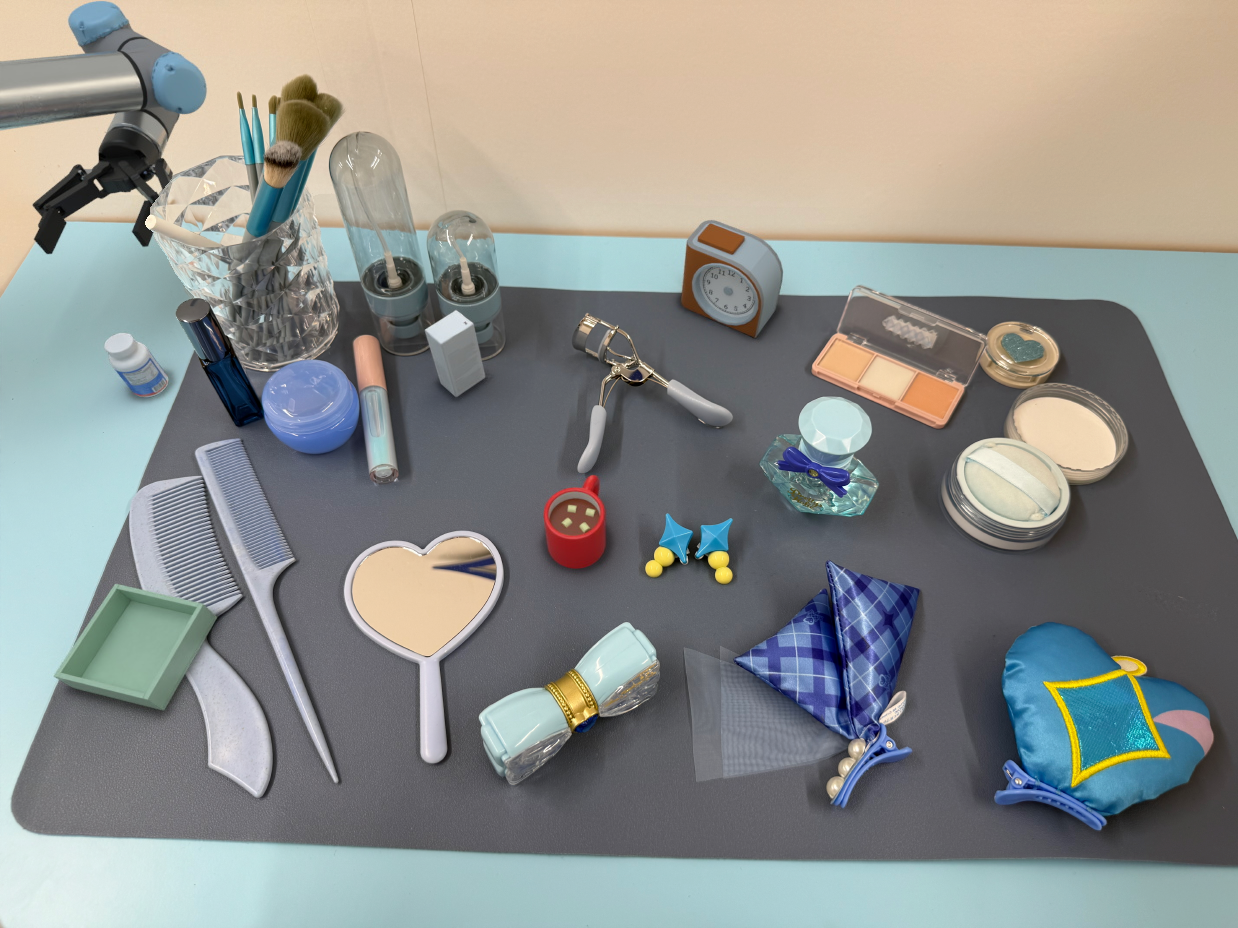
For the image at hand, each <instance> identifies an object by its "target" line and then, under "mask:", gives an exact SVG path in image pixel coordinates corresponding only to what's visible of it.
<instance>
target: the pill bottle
mask: <svg viewBox="0 0 1238 928" xmlns="http://www.w3.org/2000/svg"><path fill="white" fill-rule="evenodd" d="M103 349H104V350H105V351H106V353H107V354H108V361H109V364H110V366H111V367H112V368H113V369H114V371H115V372H116V373H117V374H118V376H119V377H120V378H121V379H122V381H123V382H124V383H125V384H126V386H127V387H128V388H129V390H130V391H131V392H132V393H133V394H134V395H135V396H137V397H140V398H151V397H155V396H157V395H159V394H161V393H163V391H164V390H165V389H166V388H167V387H168V384H169V377H168V374H167V373H166V372H165V370H164V369H163V368H162V366H161V365H160V364H159V362H158V361H157V359H156V358H155V357H154V355H153V353H152V352H151V351H150V349H149V348H148V347H147V346H146V345H145V344H144V343H142V342H139V341H136V339H135V338H134V337H133V336H132V334H130V333H128V332H119V333H115V334H113V335H111V336H109V337H108V338H107V339H106V340H105V342H104V344H103Z"/></svg>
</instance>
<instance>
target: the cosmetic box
mask: <svg viewBox="0 0 1238 928" xmlns="http://www.w3.org/2000/svg"><path fill="white" fill-rule="evenodd" d="M475 328H476V327H475V324H474V322H472V321H471V320H470V319H468V318H467V317H466V316H465V315H463V314H462V313H461V312H459V311H458V310H457V309H455V310H453V311H452V312H450V313H449V314H448V315H446V316H444V317H443V318H441V319H440V320H438V321H436V322H435V323H433V324H432V325H430V326H428V327H427V328H426V329H424V332H425V333H424V334H425V337H426V340H427V342H428V347H429V350H430V351H431V356H432V359H433V363H434V366H435V369H436V372H437V373H436V374H437V376H438V379H439V382H440V385H442V386H443V387H444V388H445V389H446V390H447V391H448V392H449V393H451V395H453V396H454V397H455V398H458V397H459V396H461V395H462V394H463V393H465V392H467V391H468V390H469V389H471V388H472V387H474V386H475V385H477V384H478V383H480V382H481V381H483V380H484V379H485V378H486V373H485V368H484V364H483V359H482V355H481V350H480V346H479V343H478V338H477V333H476V329H475Z"/></svg>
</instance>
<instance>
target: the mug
mask: <svg viewBox="0 0 1238 928" xmlns="http://www.w3.org/2000/svg"><path fill="white" fill-rule="evenodd" d="M599 494H600V479H599V477H598V475H595V474H591V475H589V476H588V477H586V479H585V481H584V483H583V485H582V487H567V488H564V489H561V490H559V491H557V492H555V493H554V494H553V495H551V496H550V497H549V499H548V500H547V501H546V503H545V505H544V509H543V522H544V529H545V535H546V543H547V549H548V553H549V555H550V556H551V558H552V559H553V560H554V561H555V562H556V563H557V564H558V565H560V566H562V567H564V568H566V569H567V568H569V569H577V570H578V569H583V568H587V567H589V566H592V565H593V564H595V563H596V562H597V561H598V560H599V559H600V558H601V557H602V555H603V554H604V552H605V549H606V509H605V504H604V503H603V501H602V500H601V498H600V497H599Z"/></svg>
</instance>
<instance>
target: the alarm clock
mask: <svg viewBox="0 0 1238 928" xmlns="http://www.w3.org/2000/svg"><path fill="white" fill-rule="evenodd" d="M684 255H685V257H684V267H683V275H682V277H683V278H682V287H681V299H680V303H681V306H682V307H683V308H685V309H686V310H688V311H691V312H693V313H696V314H697V315H700V316H703V317H705V318H708V319H710V320H712V321H715V322H717V323H719V324H722V325H724V326H727V327H729V328H732V329H734V330H736V331H737V332H741V333H742V334H745V335H747V336H750V337H752V338H754V339H755V338H757V336H758V335H759V334H760V332H761V331H762V330H763V328H764V327H765V325H766V324H767V322H768V321H769V320H770V318H771V317H772V316H773V314H774V313H775V311H776V310H777V306H778V301H779V298H780V297H779V296H780V293H781V289H782V285H783V277H784V269H783V265H782V262H781V260H780V257H779V255H778V253H777V252H776V251H775V249H774V248H773V247H772V246H771V245H770V244H769V243H768V242H766V241H765V240H764V239H762V238H761V237H759V236H757V235H754V234H753V233H751V232H747V231H745V230H742V229H740V228H736V227H734V226H732V225H729V224H726V223H724V222H722V221H718V220H715V219H708V220H704V221H702V222H701V223H700V224H699V225H698V226H697V228H696V229H694V231H693V232H692V233H691V234H690V235H689V237H687V240H686V245H685V254H684Z"/></svg>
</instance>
